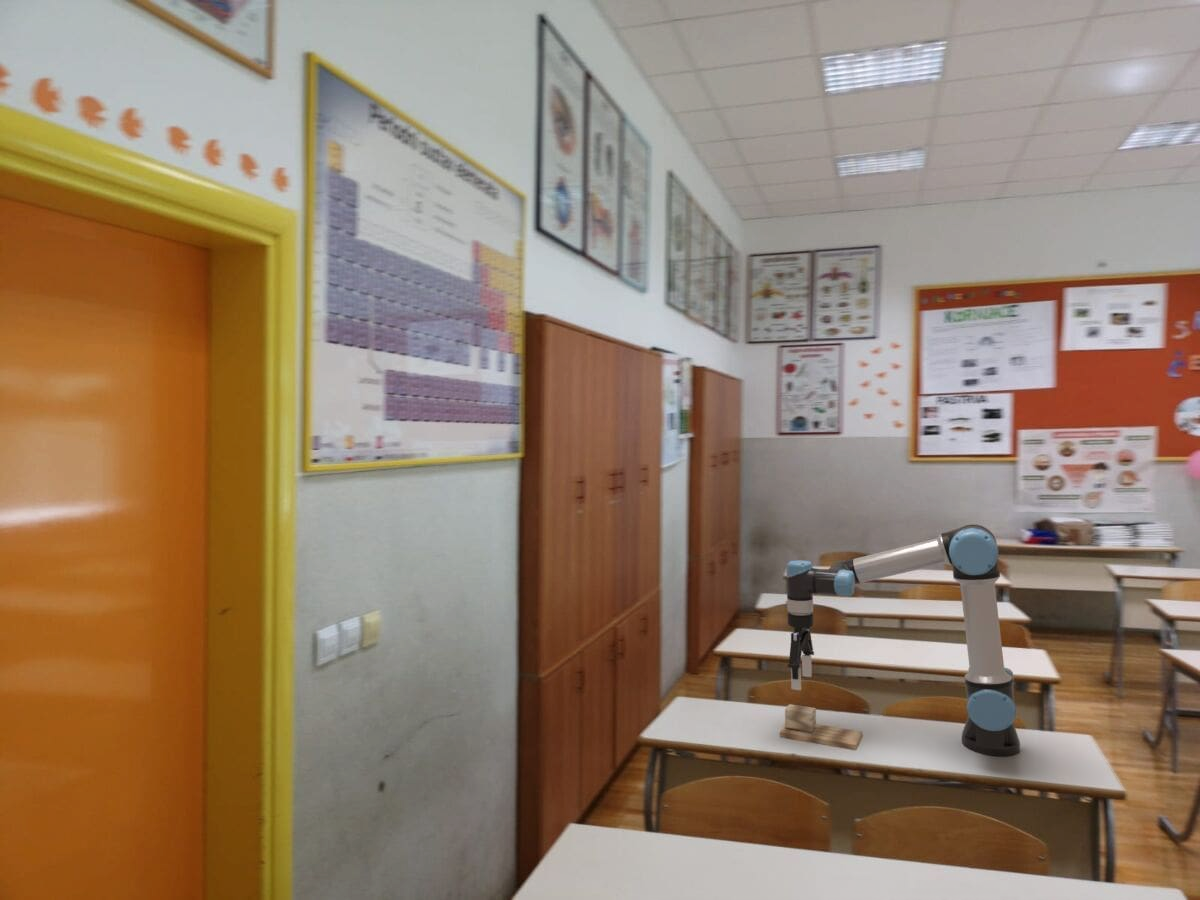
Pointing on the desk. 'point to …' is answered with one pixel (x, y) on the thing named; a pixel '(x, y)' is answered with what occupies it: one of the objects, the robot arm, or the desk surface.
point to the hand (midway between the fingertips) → (801, 682)
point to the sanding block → (800, 718)
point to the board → (827, 736)
